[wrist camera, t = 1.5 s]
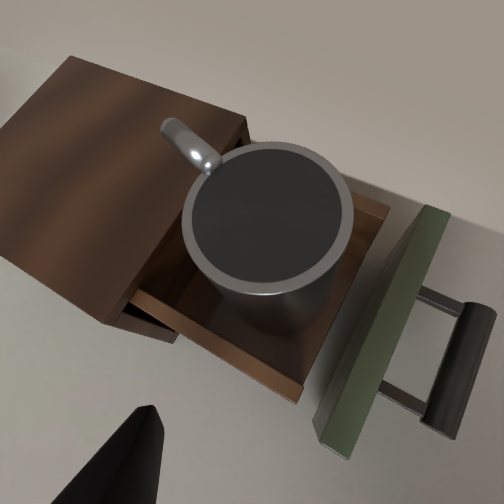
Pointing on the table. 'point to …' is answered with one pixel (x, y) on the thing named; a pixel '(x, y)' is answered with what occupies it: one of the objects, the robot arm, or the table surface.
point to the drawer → (311, 339)
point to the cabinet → (100, 185)
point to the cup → (265, 227)
